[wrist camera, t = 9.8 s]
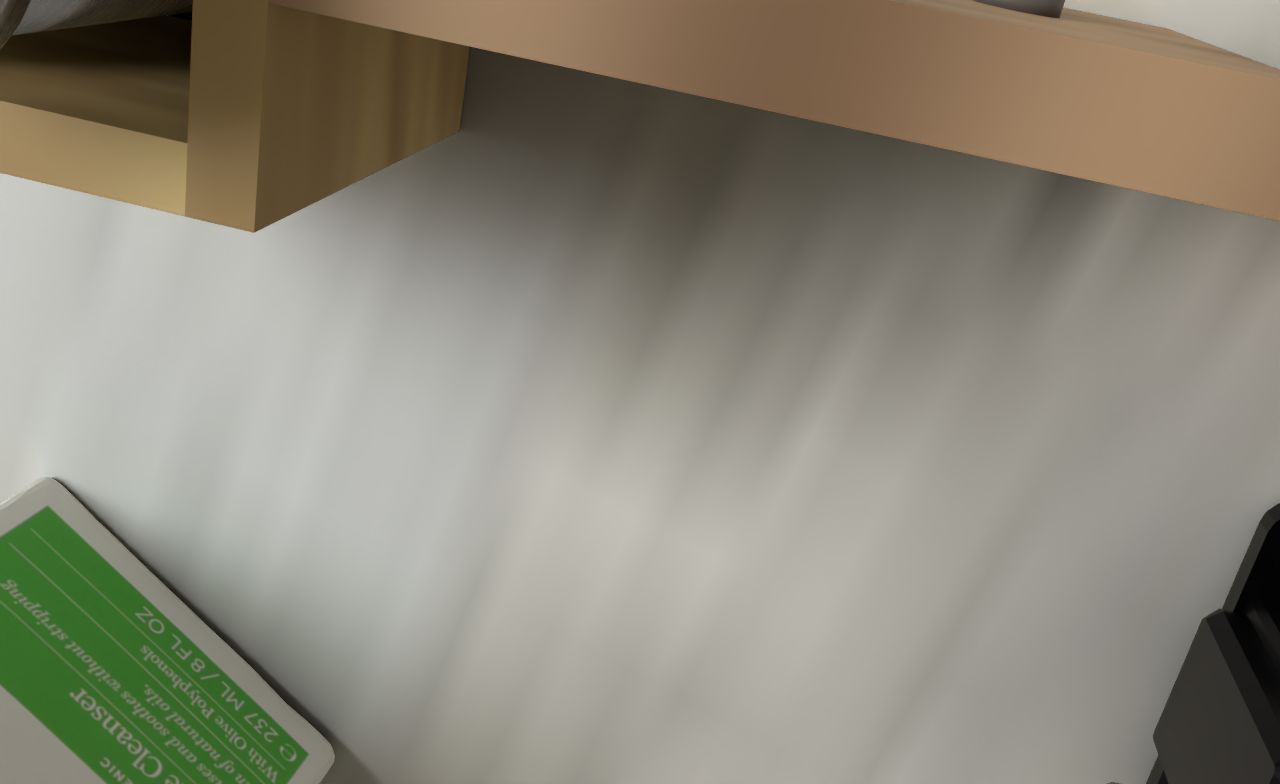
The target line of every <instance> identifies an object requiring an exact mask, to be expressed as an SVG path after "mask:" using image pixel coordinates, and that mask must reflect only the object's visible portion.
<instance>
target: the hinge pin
mask: <svg viewBox="0 0 1280 784" xmlns="http://www.w3.org/2000/svg"><path fill="white" fill-rule="evenodd" d="M192 10H193V0H0V50H1V49H2V48H3V47H4V46H5V44H6V43H7V42H8V41H9V39H10V38H11V36H12V35H19V34H26V33H34V32H42V31H50V30H57V29H65V28H73V27H81V26H88V25H96V24H104V23H111V22H119V21H127V20H135V19H142V18H150V17H158V16H166V15H173V14H181V13H189V12H192Z"/></svg>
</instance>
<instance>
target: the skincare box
mask: <svg viewBox="0 0 1280 784" xmlns="http://www.w3.org/2000/svg"><path fill="white" fill-rule="evenodd" d="M334 760H335V755H334V751H333V748H332V746H331V744H330V743H329V742H328V741H327V740H326V739H325V738H324V737H323V736H322V735H321V734H320V733H319V732H318V731H317V730H316V729H315V728H314V727H313V726H312V725H311V724H310V723H309V722H308V721H306V720H305V719H304V718H303V717H302V716H301V715H299V714H298V713H297V712H296V711H295V710H293V709H292V708H291V707H290V706H289V705H287V704H286V703H285V701H284V700H283V699H282V698H281V697H280V696H279V695H278V694H277V693H276V692H275V691H274V690H273V689H272V688H271V687H270V686H269V685H268V684H267V683H266V682H265V681H264V680H263V679H262V678H261V677H260V676H259V674H258V673H257V672H256V671H255V670H254V669H253V668H252V667H251V666H250V665H249V664H248V663H247V662H246V661H244V660H243V659H242V658H241V657H240V656H239V655H238V654H237V653H236V652H235V651H234V650H233V649H232V648H231V647H230V646H229V645H228V644H227V643H226V642H224V641H223V640H222V639H221V638H220V637H219V636H218V635H217V634H216V633H215V632H213V631H212V630H211V629H210V628H209V627H208V626H207V625H206V624H205V623H204V622H203V621H202V620H201V619H200V618H199V617H198V616H197V615H196V614H195V613H194V612H193V611H192V610H190V609H189V608H188V607H187V606H186V605H185V604H184V603H183V602H182V601H181V600H180V599H179V598H178V597H177V596H176V595H175V594H174V593H173V592H172V591H171V590H169V589H168V588H167V587H166V586H165V585H164V584H163V583H162V582H161V581H160V580H159V579H158V578H157V577H156V576H155V575H154V574H153V573H152V572H151V571H150V570H148V569H147V568H146V567H145V566H144V565H143V564H142V563H141V562H140V561H139V560H138V559H137V558H136V557H135V556H134V555H133V554H132V553H131V552H130V551H129V550H128V549H127V548H126V547H125V546H124V545H123V544H122V543H121V542H119V541H118V540H117V539H116V538H115V537H114V536H113V535H112V534H111V533H110V532H109V531H108V530H107V529H106V528H105V527H104V526H103V525H102V524H101V523H99V522H98V521H97V520H96V519H95V518H94V517H93V515H92V514H91V513H90V512H89V511H88V510H87V509H86V508H85V507H84V506H83V505H82V504H81V503H80V502H79V501H78V500H77V499H76V498H75V497H74V496H73V495H72V494H71V493H70V492H69V491H68V490H67V489H66V488H65V487H64V486H63V485H61V484H60V483H59V482H57V481H56V480H54V479H52V478H50V477H44V478H40V479H38V480H36V481H34V482H33V483H31V484H30V485H28V486H26V487H25V488H23V489H22V490H20V491H19V492H17V493H16V494H14V495H13V496H11V497H10V498H8V499H7V500H6V501H4V502H3V503H1V504H0V784H319V783H320V782H321V781H322V779H323V778H324V776H325V775H326V774H327V772H328V771H329V769H330V768H331V767H332V765H333V764H334Z"/></svg>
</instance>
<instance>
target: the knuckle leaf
mask: <svg viewBox="0 0 1280 784" xmlns="http://www.w3.org/2000/svg"><path fill="white" fill-rule="evenodd" d="M1064 2H1065V0H193V10H192V21H191V20H186V19H182V18H177V17H172V16H168V15H166V16H158V17H150V18H142V19H135V20H127V21H119V22H111V23H104V24H96V25H88V26H81V27H73V28H65V29H57V30H50V31H42V32H34V33H26V34H19V35H12V36H11V38H10V39H9V41H8V42H7V43H6V44H5V46H4V47H3V48H2V49H1V50H0V173H3V174H8V175H12V176H16V177H20V178H25V179H29V180H33V181H37V182H42V183H46V184H50V185H54V186H59V187H63V188H67V189H71V190H75V191H80V192H84V193H88V194H92V195H97V196H101V197H105V198H109V199H114V200H118V201H122V202H126V203H131V204H135V205H139V206H143V207H148V208H152V209H156V210H160V211H165V212H169V213H173V214H177V215H181V216H186V217H190V218H194V219H198V220H203V221H207V222H211V223H215V224H220V225H224V226H228V227H232V228H237V229H241V230H245V231H249V232H256V231H258V230H260V229H262V228H264V227H266V226H268V225H270V224H272V223H274V222H276V221H278V220H280V219H282V218H285V217H287V216H289V215H291V214H293V213H295V212H297V211H299V210H301V209H303V208H305V207H307V206H309V205H311V204H313V203H315V202H317V201H319V200H321V199H323V198H325V197H327V196H329V195H331V194H333V193H335V192H337V191H339V190H341V189H343V188H345V187H347V186H349V185H351V184H353V183H355V182H357V181H359V180H361V179H363V178H365V177H367V176H369V175H371V174H373V173H375V172H377V171H379V170H381V169H383V168H385V167H387V166H389V165H391V164H393V163H395V162H397V161H399V160H402V159H404V158H406V157H408V156H410V155H412V154H414V153H416V152H418V151H420V150H422V149H424V148H426V147H428V146H430V145H432V144H434V143H436V142H438V141H440V140H442V139H444V138H446V137H448V136H450V135H452V134H454V133H456V132H458V131H460V123H461V115H462V107H463V99H464V91H465V83H466V75H467V67H468V58H469V50H470V47H474V48H479V49H484V50H488V51H493V52H498V53H502V54H507V55H512V56H516V57H521V58H525V59H530V60H535V61H539V62H544V63H549V64H553V65H558V66H563V67H567V68H572V69H577V70H581V71H586V72H590V73H595V74H600V75H604V76H609V77H614V78H618V79H623V80H628V81H632V82H637V83H641V84H646V85H651V86H655V87H660V88H665V89H669V90H674V91H679V92H683V93H688V94H692V95H697V96H702V97H706V98H711V99H716V100H720V101H725V102H730V103H734V104H739V105H743V106H748V107H753V108H757V109H762V110H767V111H771V112H776V113H781V114H785V115H790V116H795V117H799V118H804V119H808V120H813V121H818V122H822V123H827V124H832V125H836V126H841V127H846V128H850V129H855V130H859V131H864V132H869V133H873V134H878V135H883V136H887V137H892V138H897V139H901V140H906V141H910V142H915V143H920V144H924V145H929V146H934V147H938V148H943V149H948V150H952V151H957V152H961V153H966V154H971V155H975V156H980V157H985V158H989V159H994V160H999V161H1003V162H1008V163H1013V164H1017V165H1022V166H1026V167H1031V168H1036V169H1040V170H1045V171H1050V172H1054V173H1059V174H1064V175H1068V176H1073V177H1077V178H1082V179H1087V180H1091V181H1096V182H1101V183H1105V184H1110V185H1115V186H1119V187H1124V188H1128V189H1133V190H1138V191H1142V192H1147V193H1152V194H1156V195H1161V196H1166V197H1170V198H1175V199H1180V200H1184V201H1189V202H1193V203H1198V204H1203V205H1207V206H1212V207H1217V208H1221V209H1226V210H1231V211H1235V212H1240V213H1244V214H1249V215H1254V216H1258V217H1263V218H1268V219H1272V220H1277V221H1280V70H1279V69H1276V68H1273V67H1270V66H1268V65H1265V64H1262V63H1259V62H1257V61H1254V60H1251V59H1249V58H1246V57H1243V56H1240V55H1238V54H1235V53H1232V52H1229V51H1227V50H1224V49H1221V48H1218V47H1216V46H1213V45H1210V44H1207V43H1205V42H1202V41H1199V40H1196V39H1194V38H1191V37H1188V36H1185V35H1183V34H1180V33H1177V32H1174V31H1172V30H1169V29H1165V28H1160V27H1155V26H1150V25H1145V24H1140V23H1136V22H1131V21H1126V20H1121V19H1116V18H1111V17H1106V16H1101V15H1096V14H1091V13H1086V12H1081V11H1076V10H1071V9H1066V8H1063V5H1064Z"/></svg>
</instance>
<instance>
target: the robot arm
mask: <svg viewBox="0 0 1280 784" xmlns="http://www.w3.org/2000/svg"><path fill="white" fill-rule="evenodd" d="M1153 739H1154V742H1155V745H1156V748H1157V751H1158V754H1159V755H1158V758H1157V760H1156V762H1155V764H1154V767H1153V769H1152V771H1151V774H1150V776H1149V778H1148V781H1147V783H1146V784H1280V504H1277V505H1276V506H1274V507H1273V508H1271V509H1270V510H1268V511H1267V512H1266V513H1265V515H1264V516H1263V518H1262V519H1261V520H1260V522H1259V525H1258V527H1257V529H1256V532H1255V534H1254V536H1253V538H1252V541H1251V543H1250V545H1249V548H1248V550H1247V552H1246V555H1245V557H1244V559H1243V562H1242V564H1241V566H1240V568H1239V571H1238V573H1237V575H1236V578H1235V580H1234V582H1233V585H1232V587H1231V589H1230V592H1229V594H1228V596H1227V598H1226V601H1225V603H1224V605H1223V608H1222V609H1218V610H1216V611H1214V612H1213V613H1211V614H1209V615H1208V616H1206V617H1205V618H1203V619H1202V621H1201V624H1200V626H1199V628H1198V631H1197V633H1196V635H1195V638H1194V640H1193V642H1192V645H1191V647H1190V649H1189V652H1188V654H1187V656H1186V659H1185V661H1184V663H1183V666H1182V668H1181V670H1180V673H1179V675H1178V677H1177V680H1176V682H1175V684H1174V687H1173V689H1172V691H1171V694H1170V696H1169V698H1168V701H1167V703H1166V705H1165V708H1164V710H1163V712H1162V715H1161V717H1160V719H1159V722H1158V724H1157V726H1156V729H1155V731H1154V735H1153ZM1107 784H1119V783H1115V782H1110V783H1107Z"/></svg>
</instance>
